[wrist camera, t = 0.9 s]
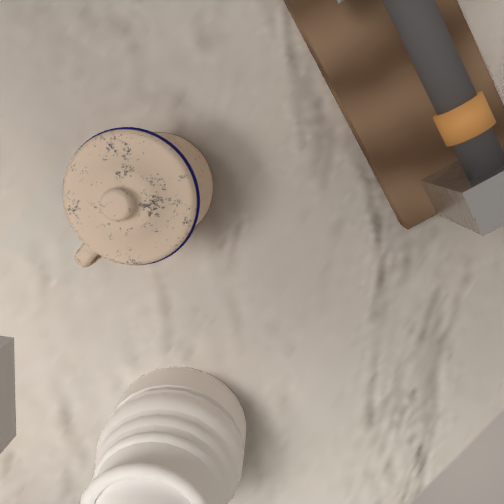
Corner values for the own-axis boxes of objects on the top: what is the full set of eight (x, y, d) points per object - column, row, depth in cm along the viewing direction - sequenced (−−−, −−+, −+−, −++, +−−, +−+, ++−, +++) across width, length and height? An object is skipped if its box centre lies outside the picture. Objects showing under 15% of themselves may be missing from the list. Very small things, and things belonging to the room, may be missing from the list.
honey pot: (125, 353, 42) (16, 508, 24) (259, 383, 42) (246, 559, 24) (108, 465, 45) (1, 673, 28) (232, 493, 45) (203, 718, 28)
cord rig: (248, -67, 32) (236, -154, 23) (372, -155, 31) (416, -289, 21) (400, 224, 37) (444, 255, 27) (515, 163, 35) (605, 172, 26)
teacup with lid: (158, 105, 36) (103, 90, 25) (239, 184, 37) (222, 205, 26) (68, 209, 38) (-19, 240, 27) (146, 281, 40) (94, 338, 28)
